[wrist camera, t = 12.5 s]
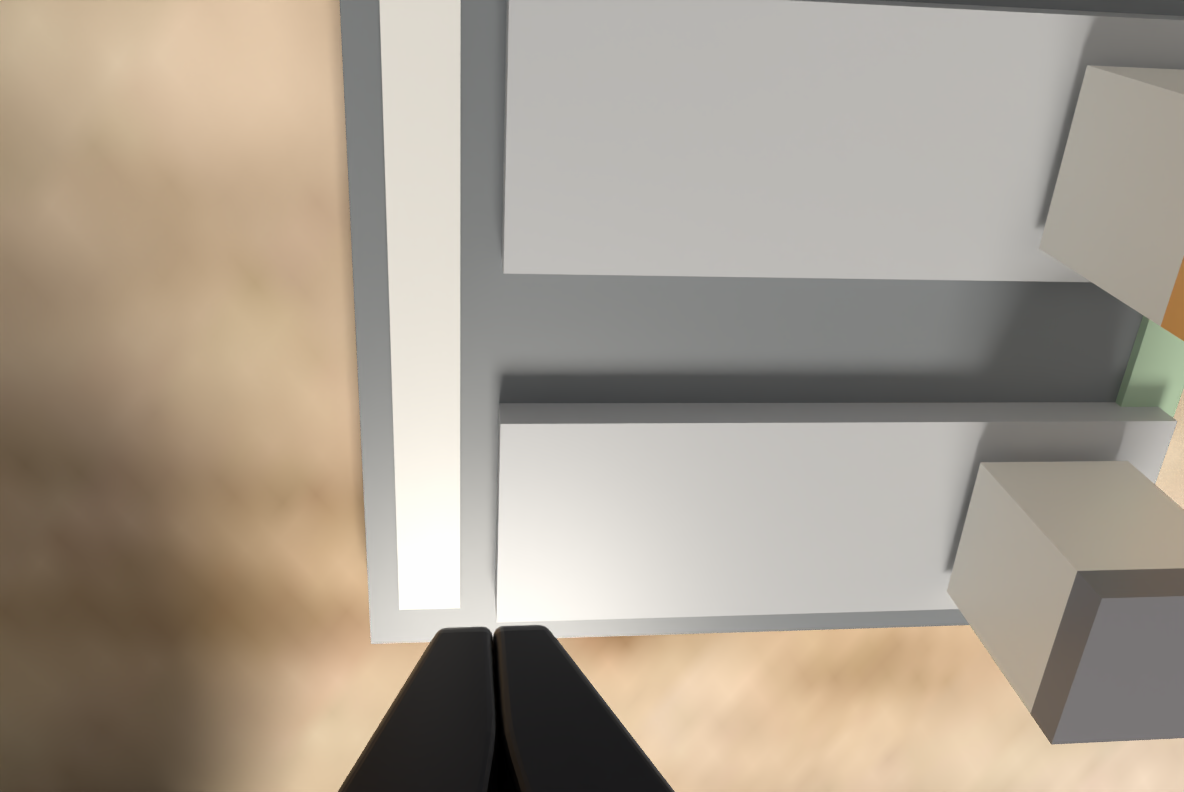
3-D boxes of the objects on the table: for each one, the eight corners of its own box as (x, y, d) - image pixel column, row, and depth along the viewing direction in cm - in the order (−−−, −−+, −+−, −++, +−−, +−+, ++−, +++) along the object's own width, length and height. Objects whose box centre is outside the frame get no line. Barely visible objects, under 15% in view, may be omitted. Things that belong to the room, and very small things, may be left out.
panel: (1063, 580, 24) (1119, 644, 22) (376, 597, 22) (367, 670, 20) (1442, -592, 15) (1597, -666, 13) (316, -750, 13) (289, -868, 11)
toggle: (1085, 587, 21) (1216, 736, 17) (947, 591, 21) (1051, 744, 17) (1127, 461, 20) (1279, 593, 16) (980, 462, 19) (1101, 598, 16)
